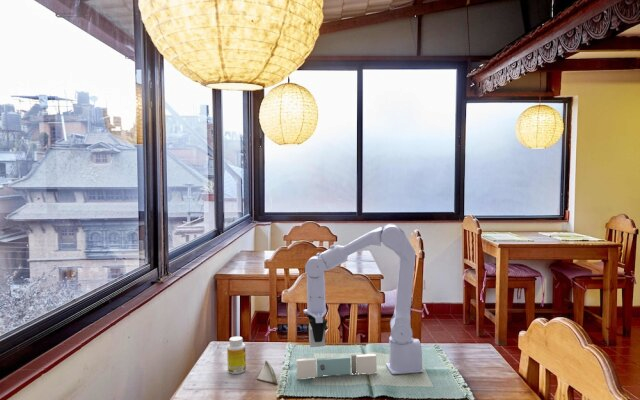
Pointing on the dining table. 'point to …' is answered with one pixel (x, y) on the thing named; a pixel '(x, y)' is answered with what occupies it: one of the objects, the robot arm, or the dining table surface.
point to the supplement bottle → (236, 355)
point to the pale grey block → (312, 341)
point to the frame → (359, 363)
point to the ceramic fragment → (267, 374)
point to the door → (333, 366)
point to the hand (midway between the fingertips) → (317, 338)
